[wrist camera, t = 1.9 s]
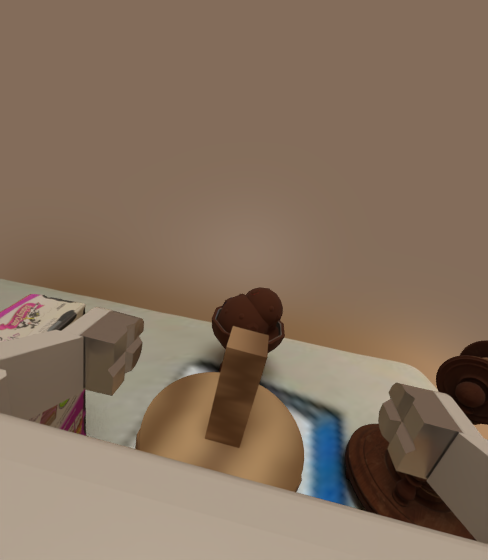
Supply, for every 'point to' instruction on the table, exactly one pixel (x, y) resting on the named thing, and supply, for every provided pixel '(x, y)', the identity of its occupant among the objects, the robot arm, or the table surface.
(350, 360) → the table surface
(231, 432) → the oak lid
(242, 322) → the ice cream bowl
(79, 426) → the candy bar box
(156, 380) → the table surface
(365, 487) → the turned wooden statuette
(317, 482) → the table surface
